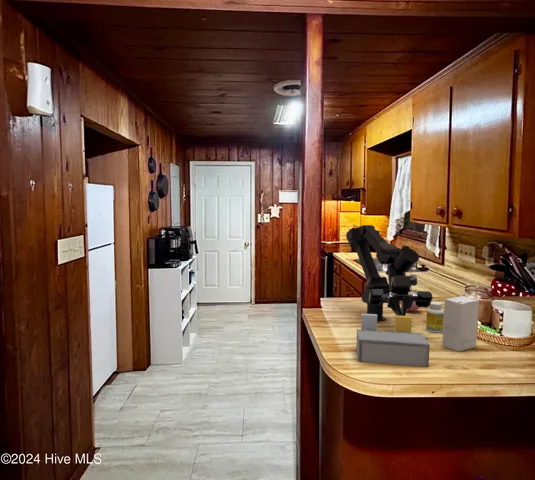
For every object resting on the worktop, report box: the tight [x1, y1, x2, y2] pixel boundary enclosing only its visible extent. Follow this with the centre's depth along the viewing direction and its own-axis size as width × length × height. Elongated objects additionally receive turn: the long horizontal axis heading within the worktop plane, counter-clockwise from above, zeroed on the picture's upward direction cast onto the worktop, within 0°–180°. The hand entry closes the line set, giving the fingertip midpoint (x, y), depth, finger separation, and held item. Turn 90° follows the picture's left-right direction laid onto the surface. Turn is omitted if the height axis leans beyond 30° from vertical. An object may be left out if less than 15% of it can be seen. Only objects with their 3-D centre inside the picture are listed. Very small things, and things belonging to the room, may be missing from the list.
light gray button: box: [360, 313, 378, 331], centre depth 114 cm, size 10×4×8 cm, turn 171°
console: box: [355, 329, 431, 368], centre depth 107 cm, size 9×18×6 cm, turn 81°
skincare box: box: [441, 295, 480, 352], centre depth 116 cm, size 8×6×15 cm
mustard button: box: [394, 314, 413, 333], centre depth 112 cm, size 10×4×8 cm, turn 171°
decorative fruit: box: [400, 286, 421, 312], centre depth 154 cm, size 9×8×10 cm
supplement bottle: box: [425, 301, 444, 334], centre depth 131 cm, size 5×5×10 cm
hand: (402, 321), depth 118 cm, fingers closed
